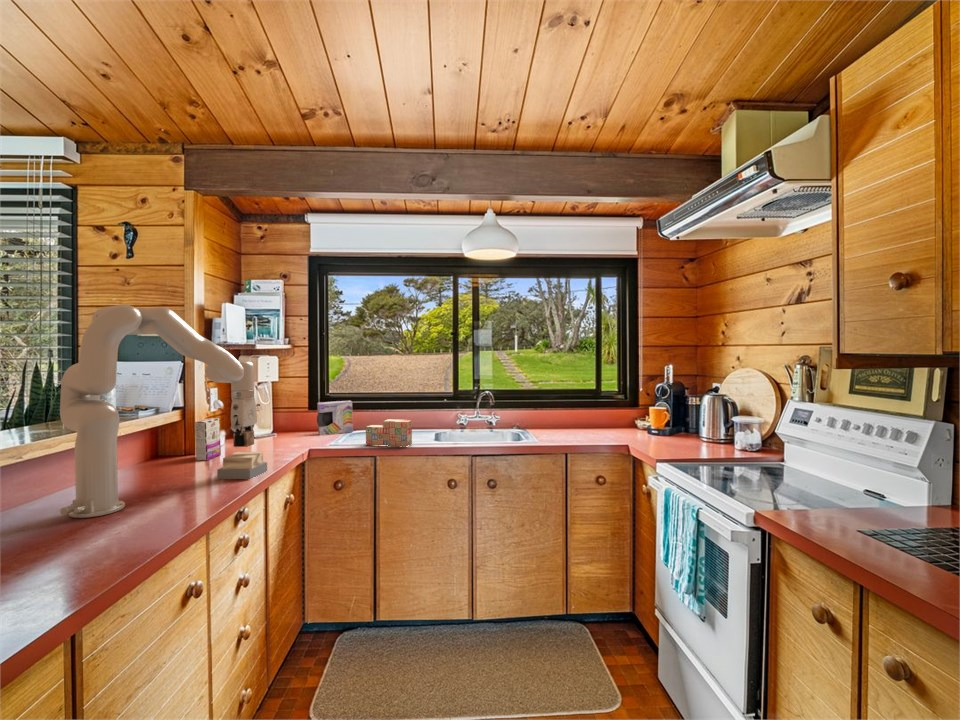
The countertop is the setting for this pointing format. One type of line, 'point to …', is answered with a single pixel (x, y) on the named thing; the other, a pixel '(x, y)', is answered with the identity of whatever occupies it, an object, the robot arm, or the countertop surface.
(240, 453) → the pale birch block
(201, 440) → the candy bar box
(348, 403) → the cake pan box
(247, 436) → the walnut cube
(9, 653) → the countertop surface
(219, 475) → the slate base block
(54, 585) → the countertop surface
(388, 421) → the stack of blocks
